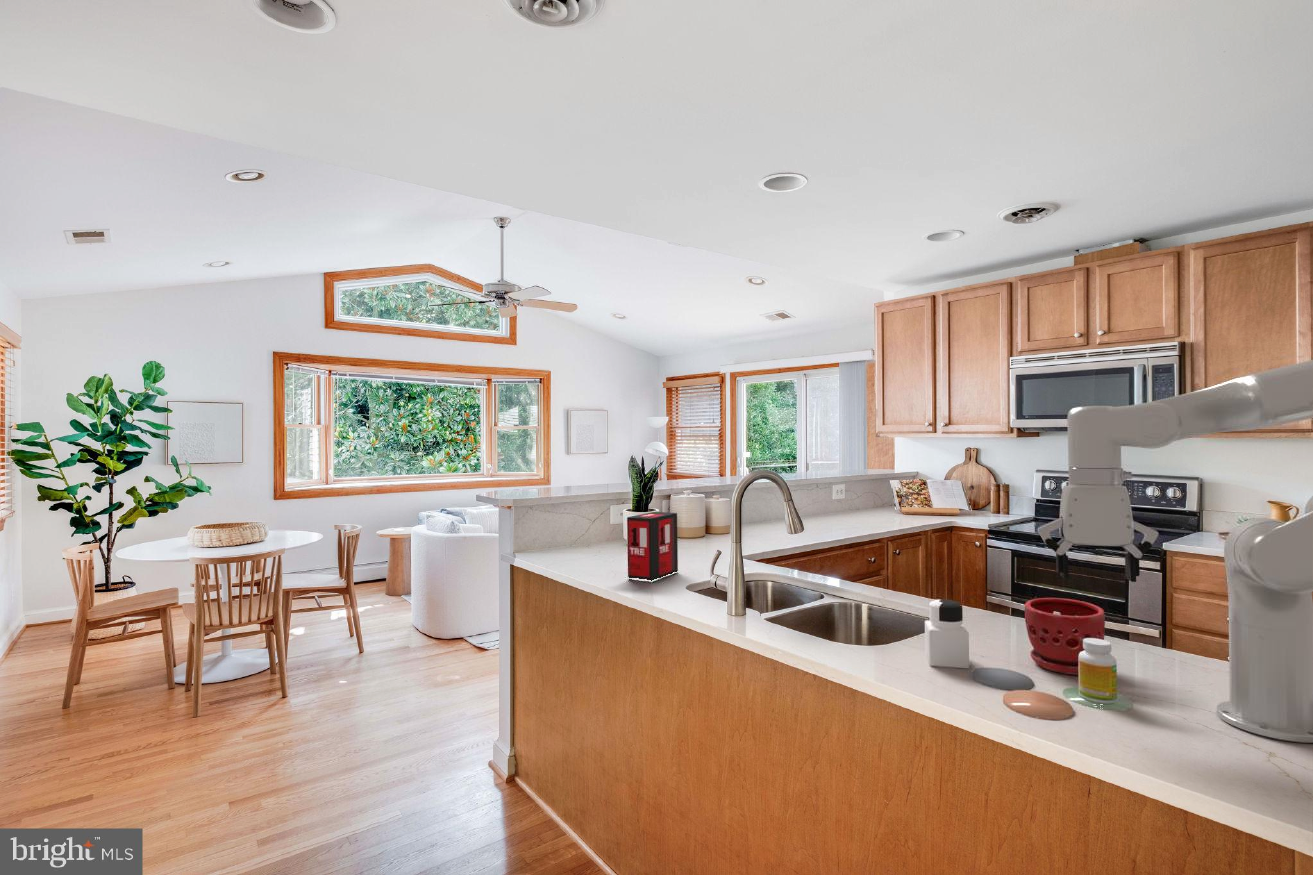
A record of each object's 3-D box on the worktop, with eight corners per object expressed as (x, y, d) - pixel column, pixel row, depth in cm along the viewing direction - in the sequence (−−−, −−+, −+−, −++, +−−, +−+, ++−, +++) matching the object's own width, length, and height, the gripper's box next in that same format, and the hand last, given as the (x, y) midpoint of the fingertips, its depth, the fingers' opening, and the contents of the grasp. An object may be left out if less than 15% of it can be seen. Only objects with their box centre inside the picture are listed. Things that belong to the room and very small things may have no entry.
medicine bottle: (962, 657, 132) (961, 598, 132) (969, 669, 125) (968, 607, 125) (924, 654, 134) (924, 596, 134) (929, 666, 127) (928, 605, 127)
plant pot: (1018, 653, 134) (1017, 595, 134) (1092, 659, 130) (1091, 599, 130) (1034, 676, 121) (1033, 611, 121) (1116, 683, 117) (1115, 616, 117)
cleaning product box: (655, 570, 221) (654, 511, 221) (677, 573, 217) (677, 513, 217) (627, 579, 207) (627, 517, 207) (651, 582, 203) (650, 518, 203)
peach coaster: (1044, 692, 114) (1044, 688, 114) (1087, 718, 104) (1087, 714, 104) (990, 696, 113) (990, 692, 112) (1029, 723, 103) (1029, 718, 103)
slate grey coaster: (1025, 674, 123) (1025, 670, 123) (1039, 694, 113) (1039, 690, 113) (967, 669, 126) (967, 665, 126) (976, 688, 116) (976, 684, 116)
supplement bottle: (1119, 707, 107) (1118, 648, 107) (1080, 701, 110) (1079, 643, 110) (1114, 695, 112) (1114, 639, 112) (1077, 689, 114) (1076, 634, 114)
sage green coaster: (1098, 689, 117) (1098, 684, 117) (1148, 712, 107) (1148, 708, 107) (1048, 693, 115) (1048, 688, 115) (1094, 717, 105) (1094, 712, 105)
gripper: (1148, 477, 111) (1150, 577, 111) (1032, 476, 118) (1035, 571, 118) (1164, 480, 104) (1166, 586, 104) (1040, 479, 111) (1043, 580, 111)
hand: (1097, 578), depth 111 cm, fingers open, 9 cm apart
